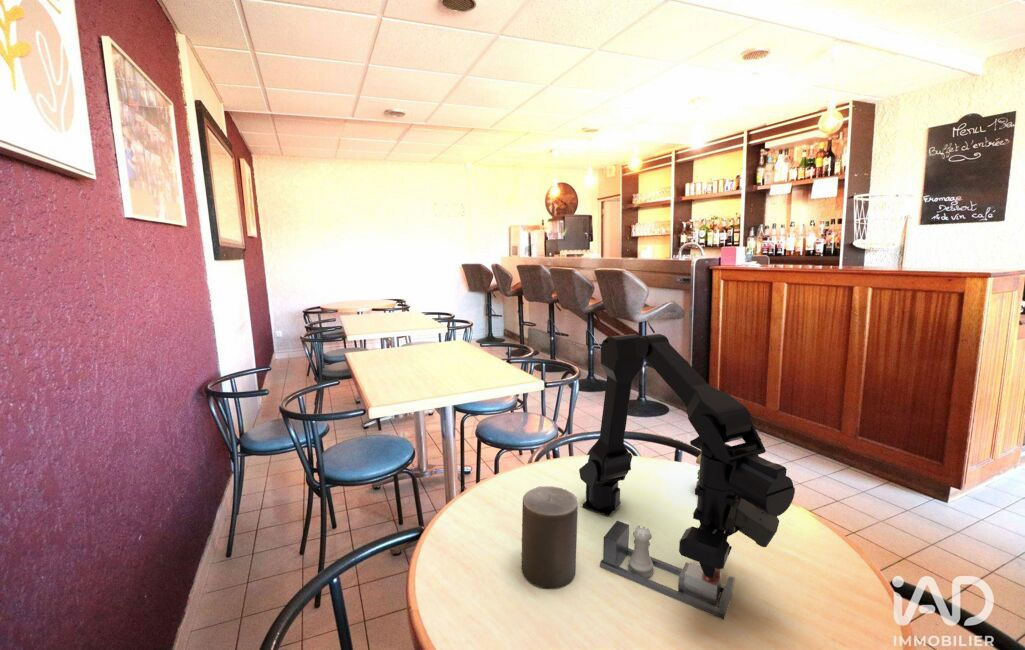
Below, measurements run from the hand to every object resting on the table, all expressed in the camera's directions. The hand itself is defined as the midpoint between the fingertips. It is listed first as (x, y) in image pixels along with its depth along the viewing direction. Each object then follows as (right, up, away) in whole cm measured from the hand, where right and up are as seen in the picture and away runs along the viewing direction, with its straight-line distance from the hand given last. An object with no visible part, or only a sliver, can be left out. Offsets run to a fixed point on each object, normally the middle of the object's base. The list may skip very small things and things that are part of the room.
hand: (711, 570), depth 76 cm
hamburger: (+13, 0, +31) cm, 34 cm away
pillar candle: (-26, -4, +8) cm, 27 cm away
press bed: (-6, -4, +5) cm, 9 cm away
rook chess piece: (-9, -4, +8) cm, 13 cm away
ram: (-1, -5, +2) cm, 5 cm away
